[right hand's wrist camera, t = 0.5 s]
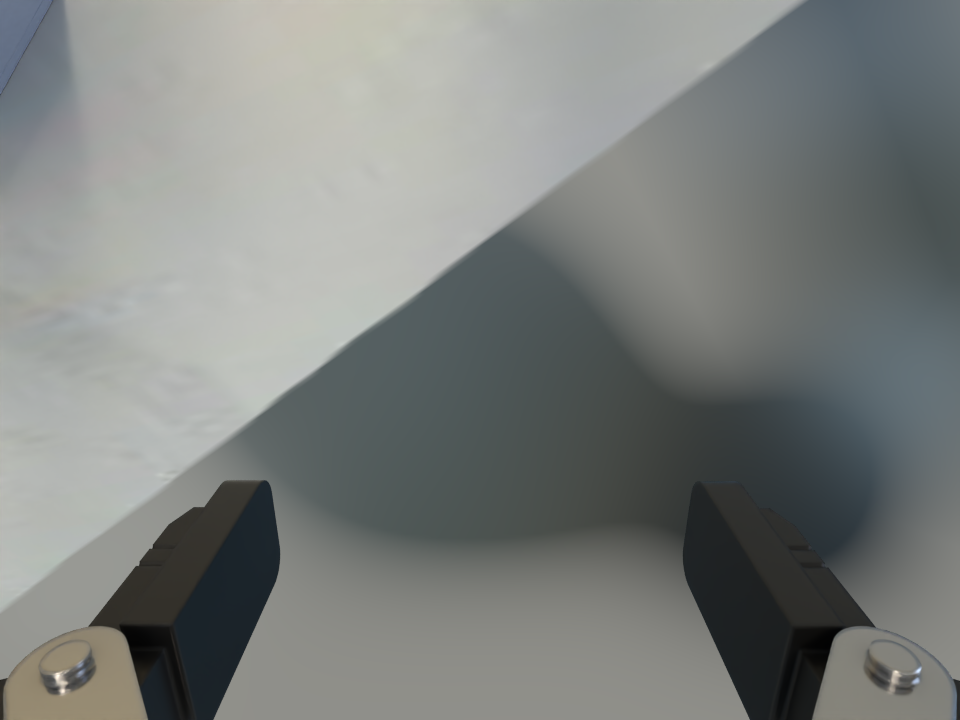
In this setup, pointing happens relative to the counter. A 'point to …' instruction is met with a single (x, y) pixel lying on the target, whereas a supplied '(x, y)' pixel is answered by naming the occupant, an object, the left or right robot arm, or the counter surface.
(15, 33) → the chest
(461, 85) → the counter surface
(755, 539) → the right robot arm
